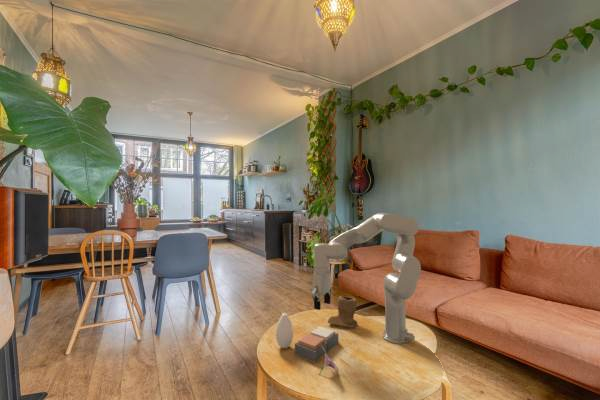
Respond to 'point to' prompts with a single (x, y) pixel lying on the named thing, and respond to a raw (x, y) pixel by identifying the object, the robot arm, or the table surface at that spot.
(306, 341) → the key terracotta
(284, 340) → the sauce bottle
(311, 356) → the key console
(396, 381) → the table surface
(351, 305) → the brown boot
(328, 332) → the key white
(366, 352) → the table surface
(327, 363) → the lily
